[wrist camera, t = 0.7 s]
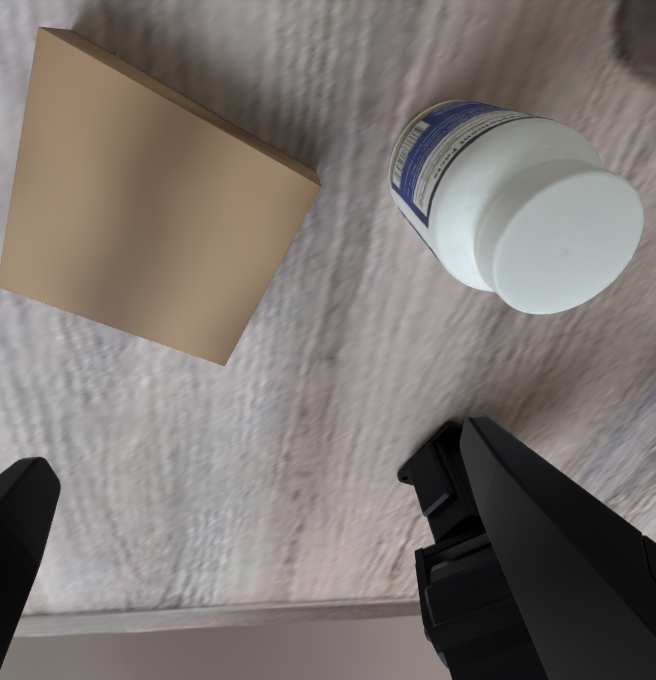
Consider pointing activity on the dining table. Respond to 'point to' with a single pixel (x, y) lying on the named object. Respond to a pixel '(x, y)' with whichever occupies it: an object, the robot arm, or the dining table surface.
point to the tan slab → (144, 203)
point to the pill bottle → (515, 204)
